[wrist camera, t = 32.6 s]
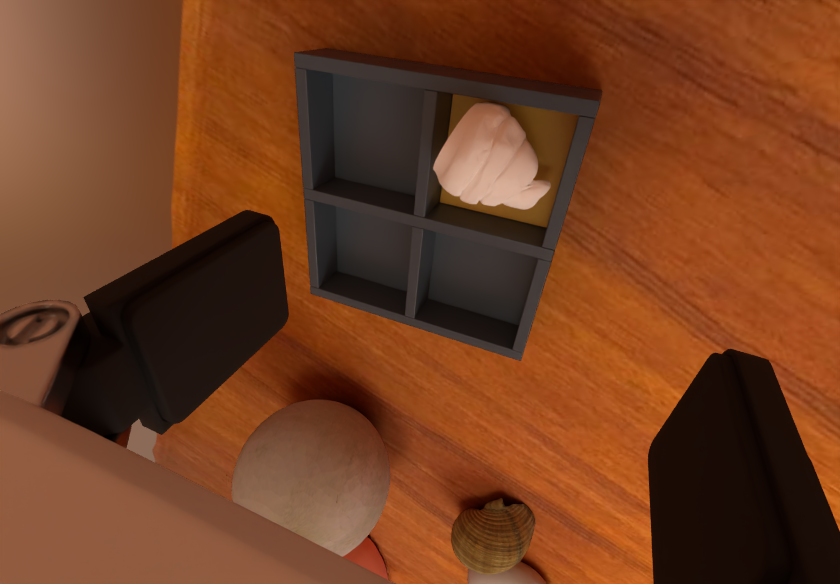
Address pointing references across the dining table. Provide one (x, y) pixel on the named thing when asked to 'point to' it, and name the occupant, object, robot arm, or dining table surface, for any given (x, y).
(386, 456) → the decorative sphere
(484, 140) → the garlic bulb
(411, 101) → the grid
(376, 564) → the pot
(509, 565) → the seashell
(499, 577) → the donut
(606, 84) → the dining table surface
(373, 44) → the dining table surface
